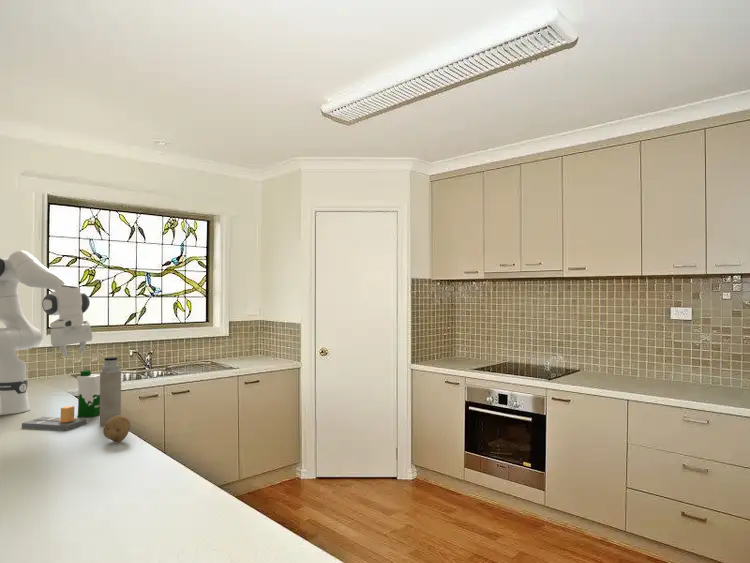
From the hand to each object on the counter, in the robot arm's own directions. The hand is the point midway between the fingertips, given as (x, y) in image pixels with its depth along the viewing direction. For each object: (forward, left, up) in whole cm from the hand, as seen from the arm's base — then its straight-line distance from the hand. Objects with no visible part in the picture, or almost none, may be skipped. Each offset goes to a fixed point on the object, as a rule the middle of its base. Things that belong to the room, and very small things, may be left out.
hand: (73, 354), depth 222 cm
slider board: (-4, -5, -29) cm, 30 cm away
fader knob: (+2, -5, -27) cm, 27 cm away
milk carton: (-3, +14, -29) cm, 32 cm away
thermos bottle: (+16, +2, -29) cm, 34 cm away
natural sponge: (+37, -22, -29) cm, 52 cm away
